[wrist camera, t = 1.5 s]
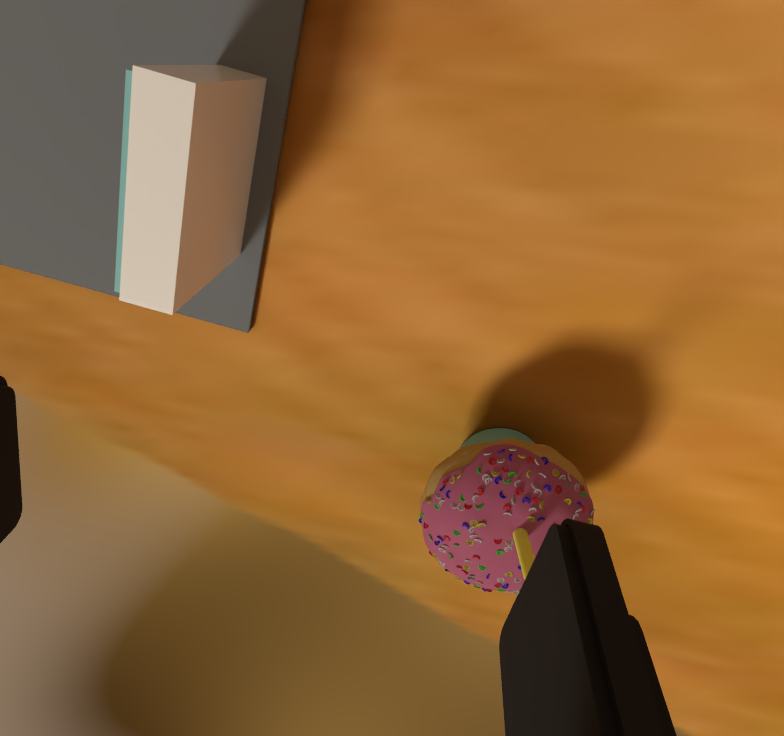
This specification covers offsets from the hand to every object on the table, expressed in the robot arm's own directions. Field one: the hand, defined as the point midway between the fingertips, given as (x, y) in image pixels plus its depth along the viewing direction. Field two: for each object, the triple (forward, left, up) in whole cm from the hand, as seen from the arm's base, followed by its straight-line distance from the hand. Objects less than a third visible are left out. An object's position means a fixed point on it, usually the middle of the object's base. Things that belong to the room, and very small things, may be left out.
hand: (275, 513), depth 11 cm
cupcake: (+11, +9, -21) cm, 25 cm away
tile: (-1, -8, -20) cm, 21 cm away
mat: (-1, -13, -21) cm, 24 cm away
